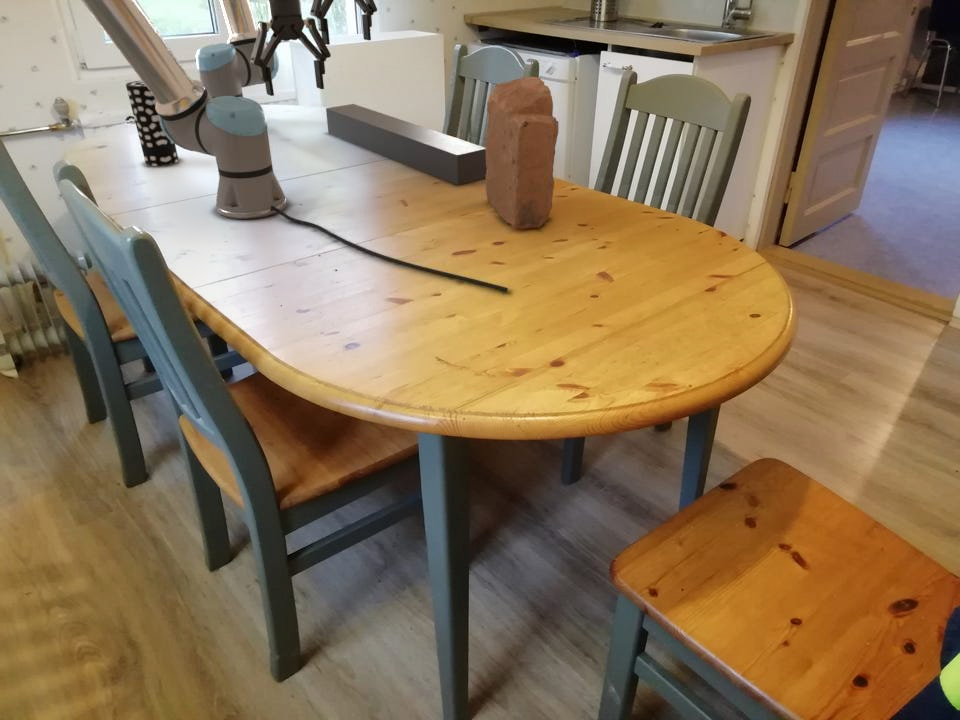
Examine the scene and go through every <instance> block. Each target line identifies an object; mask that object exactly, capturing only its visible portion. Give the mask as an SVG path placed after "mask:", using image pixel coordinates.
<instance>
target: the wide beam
mask: <svg viewBox="0 0 960 720" xmlns="http://www.w3.org/2000/svg"><path fill="white" fill-rule="evenodd" d="M325 112H326V113H325V114H326V123H327V133H328V134H329V135H332V136H333V137H336V138H338V139H341V140H344V141H347V142H348V143H351V144H354V145H356V146H359V147H362V148H363V149H366V150H369V151H371V152H374V153H376V154H378V155H381V156H384V157H386V158H389V159H391V160H394V161H396V162H399V163H401V164H404V165H406V166H408V167H411V168H413V169H415V170H419V171H420V172H423V173H426V174H429V175H431V176H434V177H437V178H438V179H441V180H444V181H446V182H449V183H451V184H453V185H456V186H460V185H464V184H468V183H471V182H475V181H480V180H482V179H483V180H484V179H486V173H487V167H486V148H485V146H481V145H478V144H475V143H472V142H469V141H466V140H463V139H460V138H457V137H454V136H451V135H448V134H445V133H442V132H438V131H436V130H434V129H430V128H427V127H424V126H421V125H419V124H415V123H412V122H409V121H406V120H404V119H399V118H398V117H394V116H391V115H388V114H385V113H382V112H379V111H376V110H373V109H370V108H367V107H364V106H362V105H358V104H355V103H349V104H344V105H337V106H332V107H325Z"/></svg>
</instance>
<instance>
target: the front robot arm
mask: <svg viewBox="0 0 960 720" xmlns="http://www.w3.org/2000/svg"><path fill="white" fill-rule="evenodd" d="M80 1H81V2H82V3H83V5H84V6H85V7H86V8H87V10H88V11H89V13H90V14H91V16H93V18H94V19H95V21H96V22H97V23H98V25H99V26H100V27H101V28H102V30H103V32H105V34H106V35H107V36H108V38H109V39H110V40H111V41H112V43H113V44H114V45H115V47H116V48H117V50H118V51H119V52H120V54H121V55H122V56H123V57H124V59H125V60H126V62H127V63H128V64H129V66H130V67H131V68H132V69H133V71H134V73H136V75H137V76H138V77H139V79H140V81H143V83H144V84H145V85H146V86H147V88H148V89H149V90H150V92H151V93H152V94H153V96H154V97H155V98H156V105H155V109H156V111H157V113H158V114H159V116H160V121H159V122H160V126H161V128H162V130H163V132H164V134H165V135H166V137H167V138H168V139H169V140H170V141H171V142H173V143H174V144H175V146H178V147H180V148H182V149H184V150H187V151H191V152H196V153H200V154H204V155H208V156H212V157H215V161H216V167H217V169H218V170H217V172H218V185H217V193H216V201H215V203H216V204H215V206H216V210H217V213H218V214H219V215H221V216H223V217H225V218H229V219H236V220H253V219H260V218H261V219H262V218H265V217H266V218H267V217H270V216H274V215H276V214H279V215H280V216H282V217H283V218H284V219H286V220H288V221H290V222H293V223H295V224H300V225H302V226H308V227H311V228H314V229H317V230H319V231H321V232H322V233H324V234H326V235H327V236H329V237H331V238H333V239H335V240H336V241H339V242H340V243H343V244H345V245H347V246H349V247H351V248H352V249H353V248H354V249H356V250H358V251H361V252H363V253H365V254H368V255H370V256H373V257H376V258H379V259H381V260H384V261H387V262H390V263H394V264H397V265H401V266H404V267H407V268H411V269H414V270H417V271H422V272H426V273H431V274H433V275H438V276H441V277H446V278H449V279H454V280H458V281H462V282H465V283H466V282H467V283H471V284H473V285H474V284H475V285H477V286H482V287H486V288H489V289H493V290H497V291H501V292H505V293H507V292H508V291H509V288H508V287H505V286H502V285H498V284H494V283H490V282H487V281H482V280H479V279H475V278H471V277H466V276H462V275H458V274H454V273H450V272H447V271H442V270H438V269H435V268H434V269H433V268H429V267H426V266H422V265H418V264H415V263H411V262H407V261H403V260H401V259H397V258H394V257H393V258H392V257H390V256H387V255H385V254H381V253H379V252H375V251H373V250H370V249H368V248H365V247H364V246H363V247H362V246H361V245H358V244H356V243H353V242H351V241H349V240H347V239H345V238H343V237H341V236H339V235H337V234H335V233H333V232H331V231H330V230H328V229H326V228H324V227H323V226H321V225H318V224H316V223H314V222H309V221H305V220H301V219H297V218H294V217H292V216H290V215H288V214H287V213H286V212H285V211H283V210H285V209H286V207H287V199H286V194H285V193H284V191H283V189H282V187H281V184H280V182H279V180H278V179H277V177H276V175H275V172H274V167H273V160H272V154H271V153H272V152H271V145H270V138H269V132H268V131H269V130H268V121H267V119H266V115H265V112H264V109H263V107H262V105H261V104H260V103H259V102H257V101H255V100H253V99H251V98H248V97H245V96H243V97H234V96H222V97H216V98H212V97H211V95H210V94H209V93H208V91H207V90H206V88H205V87H204V85H203V84H202V83H201V81H200V80H197V79H193V78H191V77H190V75H189V74H188V73H187V71H186V70H185V68H184V67H183V65H182V64H181V63H180V61H179V60H178V58H177V57H176V55H175V54H174V52H173V51H172V50H171V48H170V47H169V45H168V43H167V42H166V41H165V39H164V38H163V37H162V35H161V34H160V32H159V31H158V29H157V28H156V26H155V24H154V23H153V22H152V20H151V19H150V17H149V16H148V15H147V13H146V12H145V10H144V9H143V7H142V6H141V4H140V3H139V1H138V0H80ZM267 5H268V13H269V16H270V19H269V21H268V22H267V21H261V20H259V21H258V22H257V30H258V34H257V38H256V42H255V45H254V49H253V53H252V56H251V60H250V62H251V64H254V65H257V66H259V69H260V76H261V80H262V81H265V83H264V85H265V91H266V95H268V96H270V97H274V96H275V92H274V84H273V79H272V78H271V71H270V67H267V64H268V62H269V61H270V59H271V57H272V55H273V53H274V52H275V50H277V48H278V47H279V45H280V44H281V43H282V41H283V42H288V41H290V40H291V41H297V40H299V41H300V42H301V44H302V45H304V47H305V48H306V49H307V50H308V51H309V52H310V53H311V55H313V57H314V58H315V59H314V60H313V66H314V76H315V85H316V88H317V89H319V90H325V84H324V75H326V66H325V62H326V61H327V59H328V58H331V57H332V55H331V54H332V53H331V52H330V50H329V48H328V47H327V46H328V45H326V44H325V43H324V41H323V39H322V34H321V33H320V31H319V29H318V27H317V23H316V20H315V18H313V17H309V16H307V17H306V18H305V19H304V18H303V11H302V3H301V0H267ZM304 27H305V28H306V29H308V31H309V34H310V35H311V37H312V38H313V40H314V42H315V44H316V46H317V47H316V46H315V44H313V43H312V41H311V40H310V39H309V38H308V36H307V35H306V34H305V33H304V31H303V30H304ZM270 29H271V31H272V32H273V33H272V34H271V36H270V40H269V42H267V43H268V45H267V47H266V49H265V50H264V52H263V54H262V51H263V47H264V44H265V41H267V36H268V32H269V31H270ZM261 55H262V56H261Z"/></svg>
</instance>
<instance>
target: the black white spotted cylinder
mask: <svg viewBox="0 0 960 720" xmlns="http://www.w3.org/2000/svg"><path fill="white" fill-rule="evenodd" d="M125 87H126V91H127V95H128V99H129V103H130V107H131V110H132V116H134V119H135V120H134V119H133V120H134V122H135V123H134V124H135V127H136V130H137V134H138V139H139V143H140V146H141V150H142V155H143V158H144V163H145V164H146V165H147V166H151V167H164V166H170V165H174V164H176V163H178V162H179V155H178V150H177V145H176V144H174V143H173V142H171V141H170V140H169V139H168V138H167V137H166V135H165V134H164V132H163V130H162V128H161V126H160V122H159V121H160V116H159V114H158V113H157V111H156V109H155V105H156V98H155V97H154V96H153V94H152V93H151V92H150V90H149V89H148V88H147V86H146V85H145V84H144V83H143V81H142V80H134V81H130V82H129V81H128V82H127V83H126V84H125Z"/></svg>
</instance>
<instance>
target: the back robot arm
mask: <svg viewBox="0 0 960 720" xmlns="http://www.w3.org/2000/svg"><path fill="white" fill-rule="evenodd" d="M219 2H220V5H221V9H222V12H223V16H224V19H225V23H226V25H227V26H226V27H227V30H228V33H229V37H228V39H227V41H226V43H225V42H221V43H216V44H215V43H213V44H209V45H205V46H203V47H200V48H199V49H198V50H197V51H196V53H195V54H196V55H195V59H196V68H197V72H198V76H199V81H200V82H201V83H202V84H203V85H204V87H205V88H206V90H207V91H208V93H209V94H210V95H211V97H212V98H216V97H222V96H234V97H244V94H243V88H246V87H251V86H256V85H263V84H265V81H262V80H261V76H260V69H259V66H257V65H254V64H251V62H250V60H251V56H252V53H253V49H254V45H255V42H256V38H257V34H258V25H257V23H256V19H255V16H254V13H253V12H254V11H253V8H252V5H251V2H250V0H219ZM333 2H334V0H313V1H312V4H311V7H310V11H309V14H310V16H312V17H315V18H316V19H317V30H318V32H320V34H321V37H322V39H323V41H324V43H325V45H326V46H329V45H330V44H331V43H330V33H329V32H330V31H329V23H328V22H329V20H328V18H326V16H327V14H328V12H329V10H330V8H331V6H332V4H333ZM354 2H355V3H356V4H357V5H358V7H359V9H361V11H362V12H363V13H364V14H361V21H362V36H363V37H362V38H363V40H364V41H372V36H371V35H372V33H371V28H372V27H373V18H372V17H373V15H374V14H375V13H376V12H377V11H378V8H377V5H376V3H375V1H374V0H354ZM268 43H269V42H267V40H265V44H264V47H263V51H262V54H263V52H264V50H265V49H266V47H267V45H268ZM276 50H277V49H276ZM276 50H275V52H274V53H273V55H272V57H271V59H270V61H269V62H268V64H267V67H270V71H271V78H272V80H273V79H275V78H276V76H277V73H278V72H279V67H280V62H279V56H278V52H277V51H276ZM261 56H262V55H261ZM131 119H132V120H134V121H135V119H134V115H128V116H127V117H126V118H125V121H130V120H131Z"/></svg>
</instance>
